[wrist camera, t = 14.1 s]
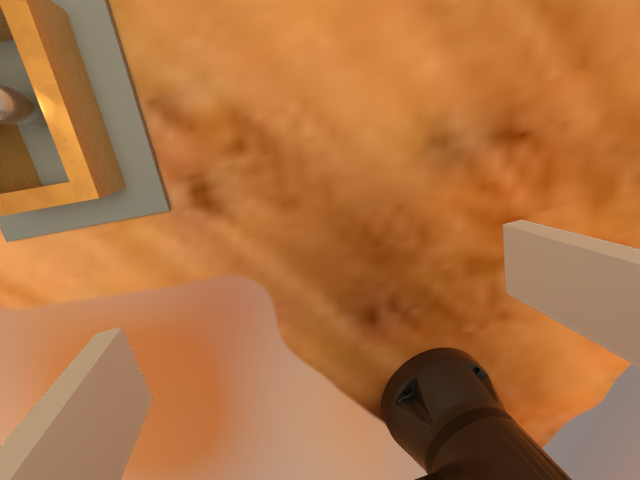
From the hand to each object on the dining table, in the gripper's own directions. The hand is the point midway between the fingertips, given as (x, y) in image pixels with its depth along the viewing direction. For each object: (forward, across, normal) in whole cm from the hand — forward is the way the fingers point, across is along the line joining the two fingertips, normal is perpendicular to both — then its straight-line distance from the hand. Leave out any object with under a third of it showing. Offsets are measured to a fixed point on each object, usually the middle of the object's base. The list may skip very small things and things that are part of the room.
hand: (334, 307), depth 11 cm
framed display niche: (+23, +17, -12) cm, 31 cm away
